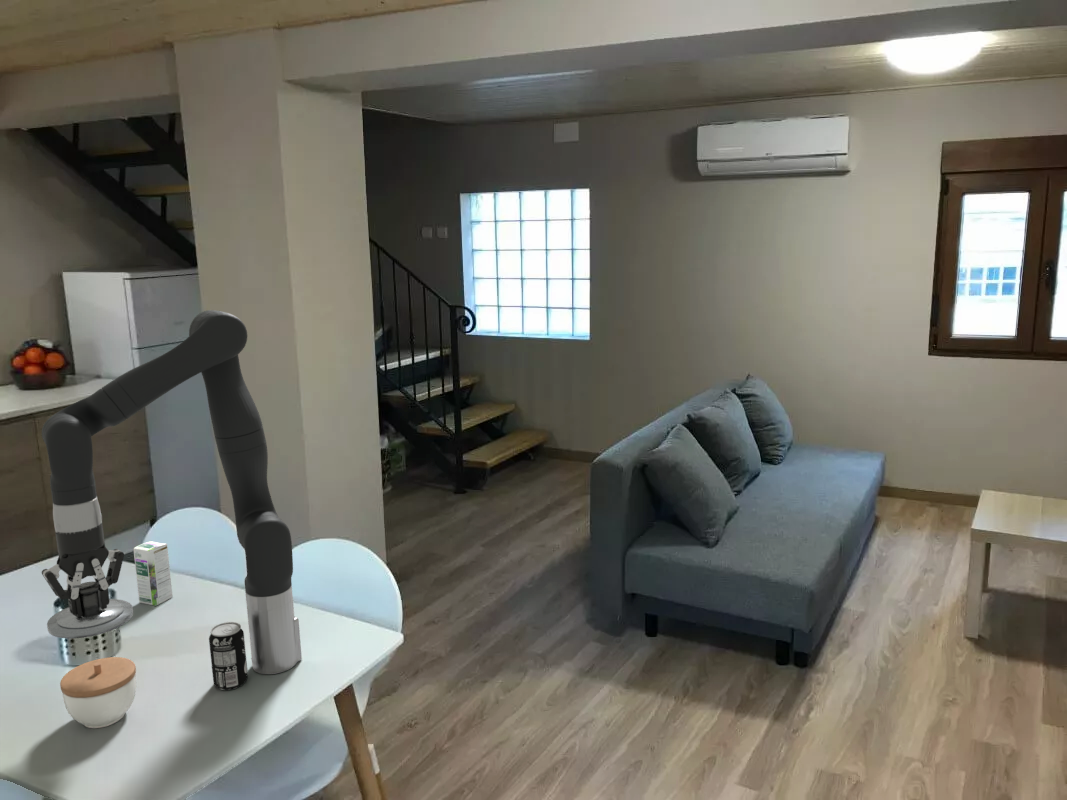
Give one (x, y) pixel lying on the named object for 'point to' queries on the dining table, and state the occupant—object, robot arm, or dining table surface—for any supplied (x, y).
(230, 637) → the beverage can
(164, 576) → the syrup box
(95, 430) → the robot arm
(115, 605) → the steel lid
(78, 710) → the lidded bowl
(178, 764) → the dining table surface
